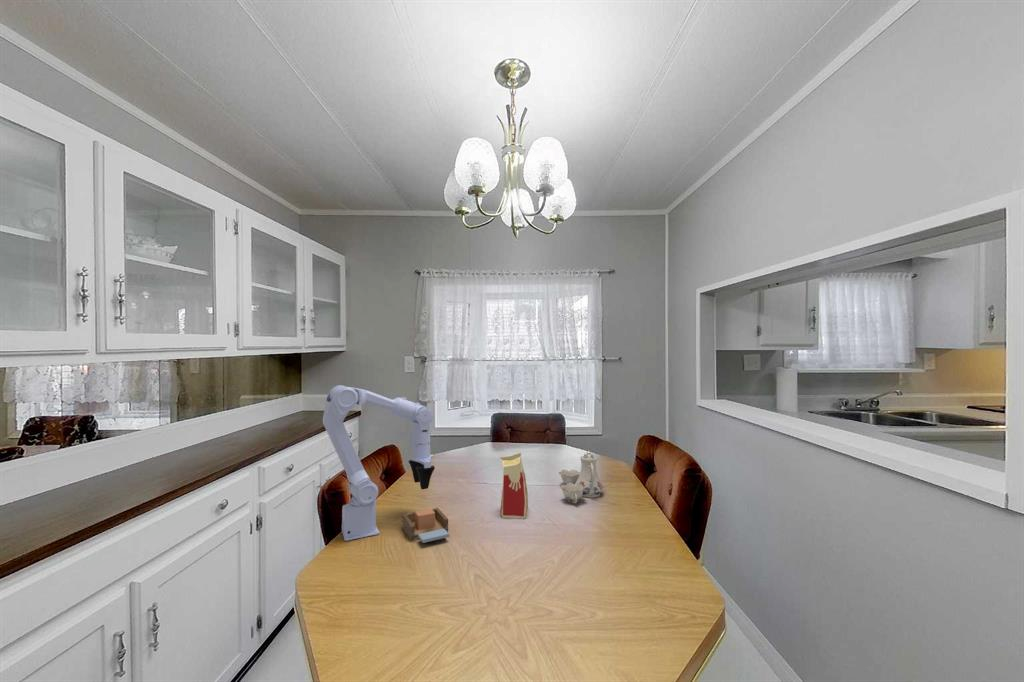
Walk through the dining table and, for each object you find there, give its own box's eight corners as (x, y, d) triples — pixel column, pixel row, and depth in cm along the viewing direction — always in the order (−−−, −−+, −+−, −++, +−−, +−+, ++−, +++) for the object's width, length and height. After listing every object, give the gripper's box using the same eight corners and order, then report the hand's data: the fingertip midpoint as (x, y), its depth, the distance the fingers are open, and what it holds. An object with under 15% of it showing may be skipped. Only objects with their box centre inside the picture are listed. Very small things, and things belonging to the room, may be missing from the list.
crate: (412, 542, 113) (412, 528, 113) (402, 527, 123) (402, 514, 123) (449, 534, 118) (449, 520, 119) (437, 520, 128) (437, 507, 128)
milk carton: (528, 508, 138) (527, 449, 139) (526, 519, 129) (526, 456, 130) (501, 507, 139) (501, 448, 140) (498, 518, 130) (497, 455, 130)
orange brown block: (418, 530, 118) (418, 516, 118) (414, 525, 121) (414, 511, 121) (434, 526, 120) (435, 512, 120) (431, 521, 124) (431, 508, 124)
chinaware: (556, 485, 166) (551, 445, 167) (596, 481, 166) (591, 441, 167) (565, 512, 138) (559, 464, 139) (613, 507, 138) (607, 458, 139)
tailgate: (418, 538, 114) (422, 544, 110) (418, 534, 114) (422, 539, 110) (443, 532, 118) (449, 537, 114) (443, 528, 118) (449, 533, 114)
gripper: (440, 445, 127) (440, 489, 126) (426, 437, 139) (426, 477, 139) (418, 448, 123) (417, 493, 123) (406, 439, 136) (406, 480, 135)
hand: (421, 485), depth 131 cm, fingers open, 7 cm apart
